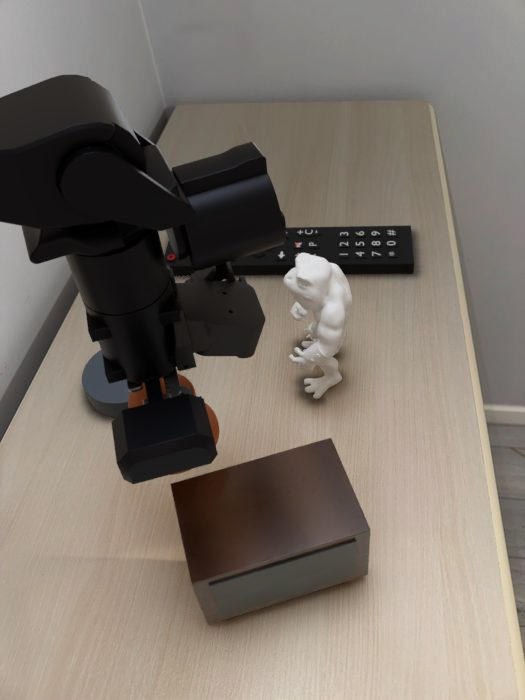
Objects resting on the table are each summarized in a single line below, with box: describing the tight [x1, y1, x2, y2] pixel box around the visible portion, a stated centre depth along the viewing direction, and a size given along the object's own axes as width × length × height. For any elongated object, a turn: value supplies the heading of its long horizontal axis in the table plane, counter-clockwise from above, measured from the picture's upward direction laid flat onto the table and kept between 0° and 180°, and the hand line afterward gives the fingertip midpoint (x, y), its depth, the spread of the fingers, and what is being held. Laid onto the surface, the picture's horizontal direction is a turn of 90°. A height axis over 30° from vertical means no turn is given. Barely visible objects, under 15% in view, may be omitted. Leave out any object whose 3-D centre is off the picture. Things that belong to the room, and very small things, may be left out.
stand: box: [81, 349, 131, 418], centre depth 74 cm, size 9×9×2 cm
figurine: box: [282, 253, 353, 400], centre depth 69 cm, size 11×7×15 cm, turn 0°
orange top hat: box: [128, 373, 220, 476], centre depth 53 cm, size 8×8×5 cm
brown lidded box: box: [170, 437, 371, 626], centre depth 57 cm, size 14×9×9 cm, turn 105°
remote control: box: [164, 224, 415, 276], centre depth 87 cm, size 8×32×2 cm, turn 85°
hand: (170, 428), depth 55 cm, fingers closed on orange top hat, 5 cm apart
